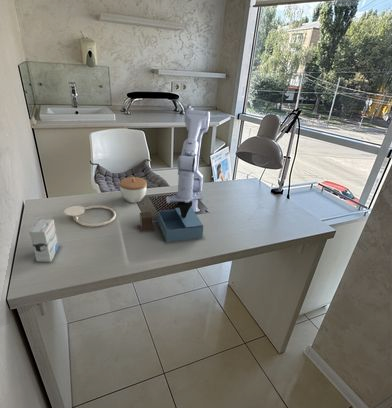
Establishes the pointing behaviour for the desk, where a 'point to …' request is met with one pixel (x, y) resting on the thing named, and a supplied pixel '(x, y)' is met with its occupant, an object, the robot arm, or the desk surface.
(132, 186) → the lidded bowl
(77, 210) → the hand towel holder
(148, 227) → the walnut block
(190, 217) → the flap
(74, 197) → the desk surface
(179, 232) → the carton
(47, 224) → the ink box
